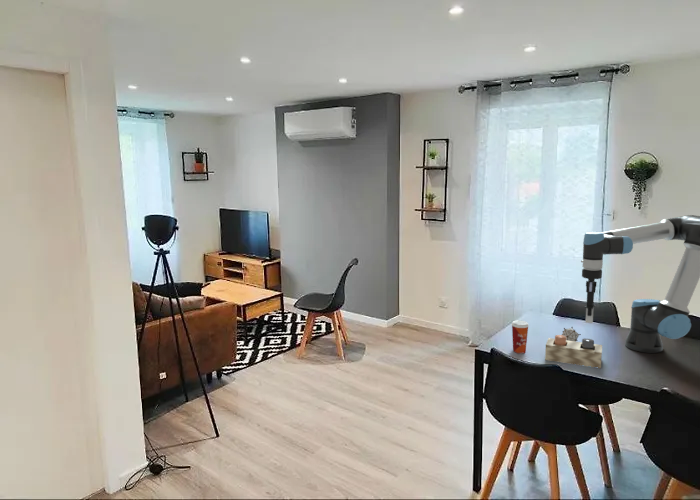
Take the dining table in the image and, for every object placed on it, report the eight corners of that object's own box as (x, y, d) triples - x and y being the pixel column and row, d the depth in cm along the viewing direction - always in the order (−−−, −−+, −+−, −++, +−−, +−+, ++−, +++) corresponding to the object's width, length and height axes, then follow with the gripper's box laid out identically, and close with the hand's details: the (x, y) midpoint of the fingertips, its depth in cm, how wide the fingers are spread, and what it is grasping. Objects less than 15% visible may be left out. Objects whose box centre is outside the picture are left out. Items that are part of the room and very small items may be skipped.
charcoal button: (593, 351, 205) (594, 339, 205) (593, 355, 201) (593, 342, 201) (581, 349, 208) (582, 337, 207) (581, 353, 204) (581, 341, 203)
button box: (601, 360, 207) (602, 345, 206) (600, 368, 198) (601, 352, 197) (547, 352, 218) (548, 337, 216) (545, 359, 209) (545, 344, 208)
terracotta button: (566, 347, 211) (566, 335, 210) (565, 350, 207) (565, 339, 206) (555, 345, 213) (555, 334, 212) (553, 349, 209) (554, 337, 208)
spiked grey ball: (573, 351, 227) (584, 340, 220) (556, 345, 228) (566, 333, 221) (573, 338, 233) (583, 326, 226) (556, 331, 234) (566, 319, 227)
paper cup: (519, 355, 215) (520, 326, 213) (507, 350, 222) (507, 321, 219) (531, 352, 218) (532, 323, 216) (519, 346, 225) (519, 318, 223)
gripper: (583, 264, 207) (580, 316, 210) (581, 271, 194) (578, 325, 198) (602, 266, 203) (599, 318, 207) (601, 272, 191) (598, 327, 194)
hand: (589, 321), depth 202 cm, fingers closed
